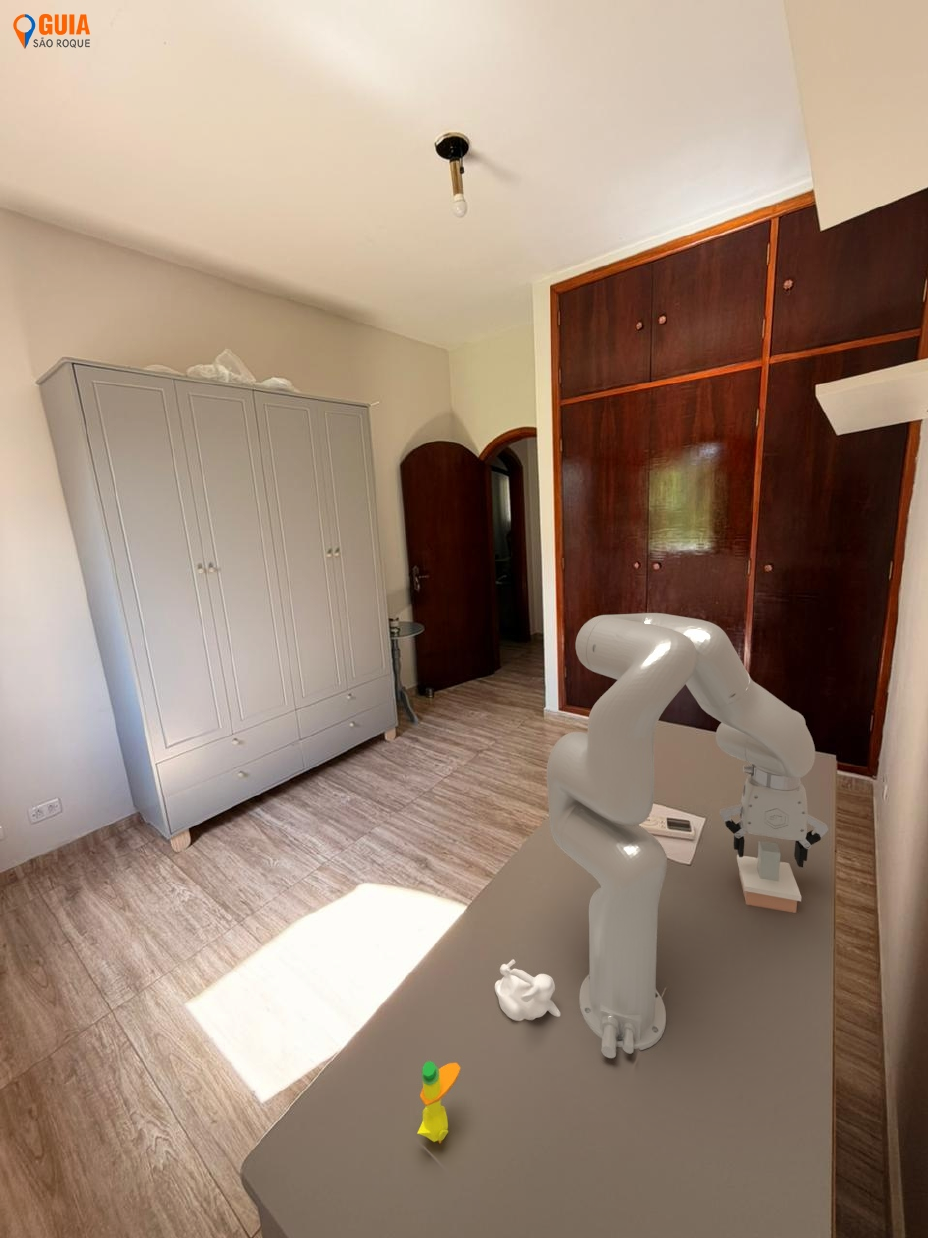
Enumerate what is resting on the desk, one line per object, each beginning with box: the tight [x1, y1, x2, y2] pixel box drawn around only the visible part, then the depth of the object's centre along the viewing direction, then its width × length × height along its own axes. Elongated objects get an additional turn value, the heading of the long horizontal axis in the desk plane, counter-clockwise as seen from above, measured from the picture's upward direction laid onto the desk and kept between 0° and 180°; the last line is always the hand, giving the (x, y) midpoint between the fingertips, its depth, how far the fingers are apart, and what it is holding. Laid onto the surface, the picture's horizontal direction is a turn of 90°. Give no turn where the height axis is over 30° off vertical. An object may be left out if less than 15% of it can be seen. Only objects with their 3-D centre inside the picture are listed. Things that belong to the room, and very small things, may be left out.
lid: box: [736, 840, 802, 902], centre depth 94 cm, size 9×9×7 cm
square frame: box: [738, 871, 798, 914], centre depth 96 cm, size 8×8×4 cm
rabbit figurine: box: [494, 958, 561, 1022], centre depth 75 cm, size 12×8×10 cm, turn 53°
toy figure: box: [416, 1060, 461, 1144], centre depth 61 cm, size 7×4×12 cm, turn 130°
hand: (768, 857), depth 94 cm, fingers open, 9 cm apart
